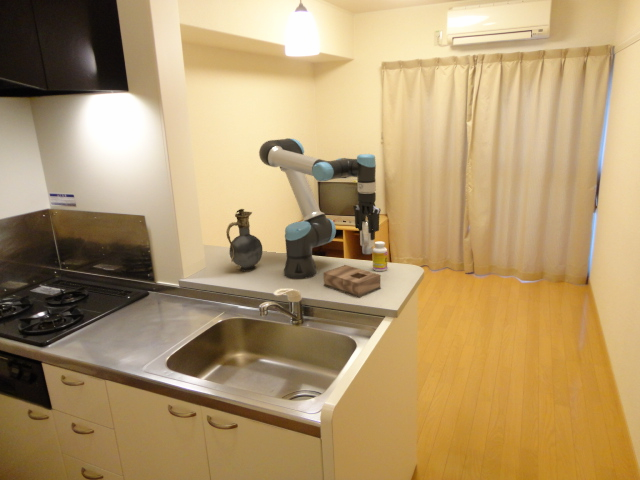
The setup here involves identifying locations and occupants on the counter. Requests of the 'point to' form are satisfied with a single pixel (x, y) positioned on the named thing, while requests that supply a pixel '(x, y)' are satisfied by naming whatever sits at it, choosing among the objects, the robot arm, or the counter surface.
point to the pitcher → (244, 243)
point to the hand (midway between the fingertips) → (367, 245)
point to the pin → (365, 238)
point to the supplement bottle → (379, 256)
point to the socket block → (352, 280)
